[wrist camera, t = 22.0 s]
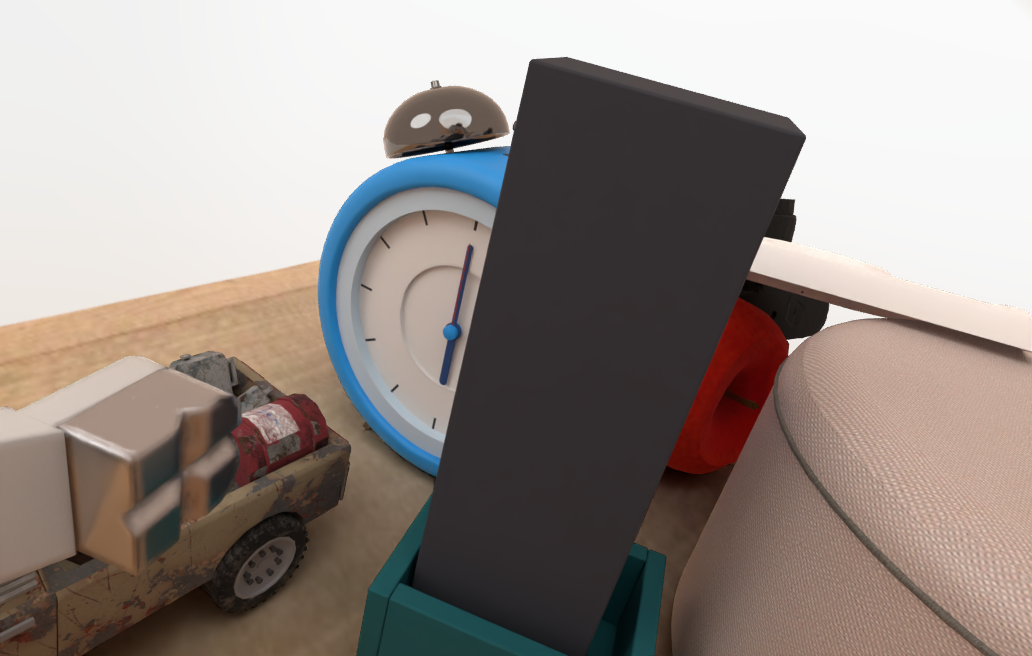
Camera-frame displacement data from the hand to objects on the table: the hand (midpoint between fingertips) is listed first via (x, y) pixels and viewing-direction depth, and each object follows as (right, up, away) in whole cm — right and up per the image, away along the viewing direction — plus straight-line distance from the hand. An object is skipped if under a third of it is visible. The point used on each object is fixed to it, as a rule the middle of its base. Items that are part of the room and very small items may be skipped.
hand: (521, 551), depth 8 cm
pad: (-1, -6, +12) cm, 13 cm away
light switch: (+15, +6, +32) cm, 36 cm away
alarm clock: (-3, -3, +22) cm, 22 cm away
